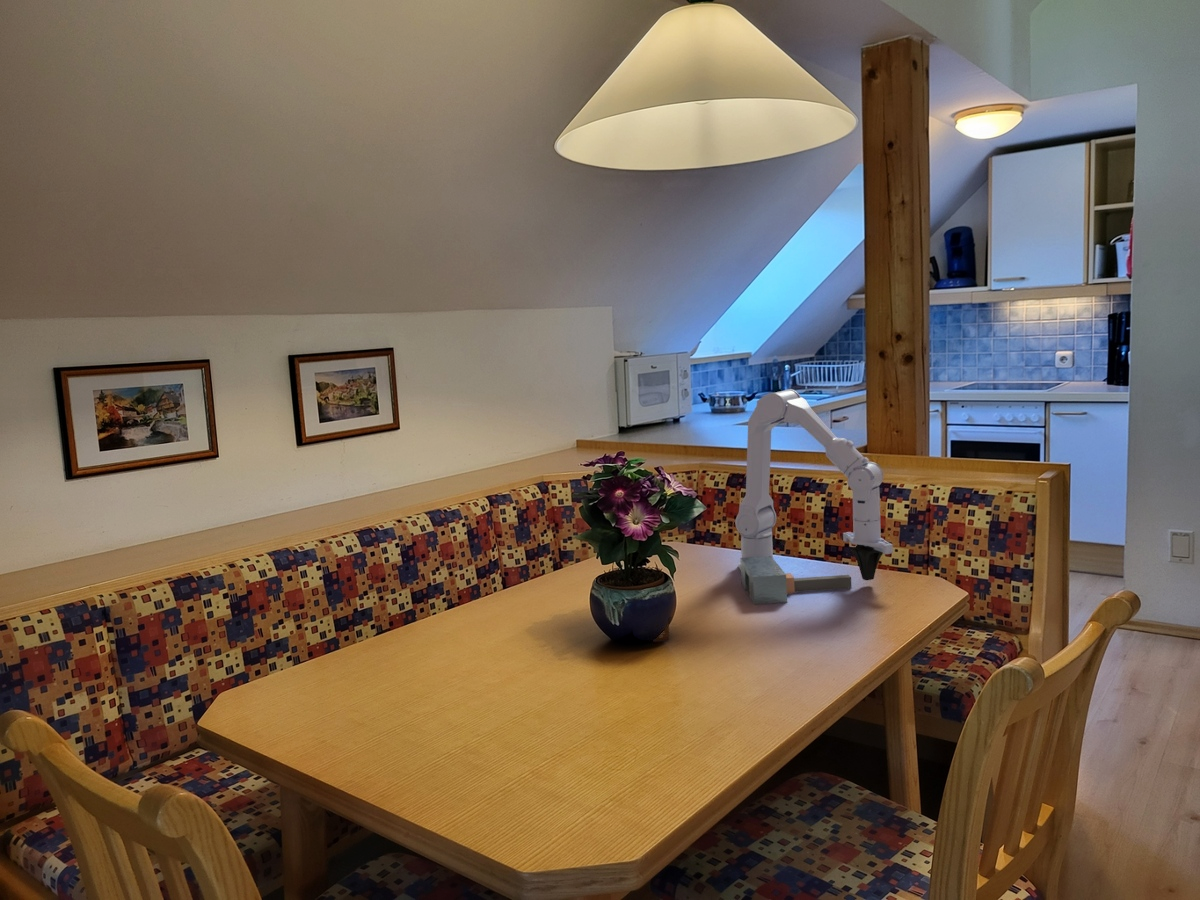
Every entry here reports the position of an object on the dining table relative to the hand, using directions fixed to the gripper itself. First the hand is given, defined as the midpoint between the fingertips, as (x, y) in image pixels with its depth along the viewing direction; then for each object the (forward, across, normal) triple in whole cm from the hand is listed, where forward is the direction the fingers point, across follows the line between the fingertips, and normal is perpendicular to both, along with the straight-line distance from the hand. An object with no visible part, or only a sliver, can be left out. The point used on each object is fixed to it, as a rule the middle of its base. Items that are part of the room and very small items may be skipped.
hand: (868, 579), depth 203 cm
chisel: (+2, -5, -12) cm, 13 cm away
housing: (+1, -8, -22) cm, 23 cm away
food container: (+2, +3, -56) cm, 56 cm away
